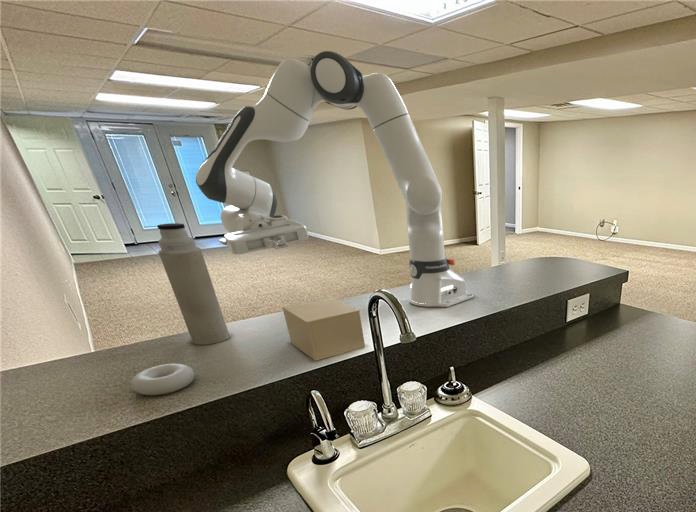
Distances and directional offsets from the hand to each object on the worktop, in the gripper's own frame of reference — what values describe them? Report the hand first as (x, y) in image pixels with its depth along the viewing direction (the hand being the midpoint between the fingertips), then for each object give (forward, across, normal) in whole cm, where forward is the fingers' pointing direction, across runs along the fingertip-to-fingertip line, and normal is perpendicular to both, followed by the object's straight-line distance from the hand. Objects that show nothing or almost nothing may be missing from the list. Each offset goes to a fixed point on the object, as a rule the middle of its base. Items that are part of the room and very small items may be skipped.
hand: (281, 245), depth 106 cm
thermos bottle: (-2, -23, +20) cm, 31 cm away
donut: (+20, -38, +15) cm, 45 cm away
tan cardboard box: (+24, -5, +18) cm, 30 cm away
